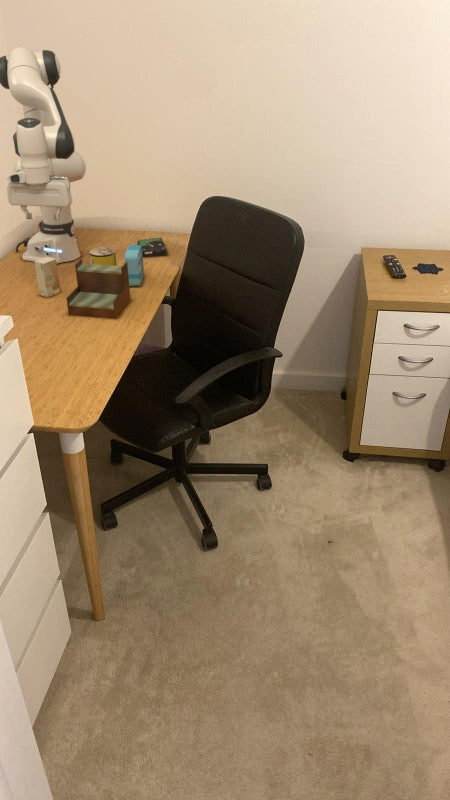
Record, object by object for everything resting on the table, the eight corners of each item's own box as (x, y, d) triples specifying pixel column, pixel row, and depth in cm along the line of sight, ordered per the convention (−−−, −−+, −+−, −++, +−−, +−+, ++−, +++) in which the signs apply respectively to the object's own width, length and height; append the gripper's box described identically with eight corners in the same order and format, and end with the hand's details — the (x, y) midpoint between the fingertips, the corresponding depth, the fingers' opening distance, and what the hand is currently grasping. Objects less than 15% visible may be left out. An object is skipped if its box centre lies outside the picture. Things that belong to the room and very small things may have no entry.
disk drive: (167, 256, 257) (161, 243, 269) (167, 249, 255) (161, 237, 268) (141, 258, 255) (137, 245, 267) (141, 251, 253) (136, 238, 266)
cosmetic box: (47, 298, 221) (42, 263, 215) (38, 295, 223) (33, 261, 217) (61, 291, 226) (56, 258, 219) (52, 289, 228) (47, 255, 221)
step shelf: (68, 315, 210) (63, 275, 203) (84, 296, 222) (80, 259, 215) (116, 318, 207) (112, 279, 200) (130, 300, 220) (127, 262, 213)
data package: (139, 288, 229) (137, 255, 223) (126, 287, 229) (124, 255, 223) (144, 275, 239) (141, 243, 233) (131, 275, 239) (129, 243, 233)
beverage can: (108, 277, 238) (105, 245, 231) (123, 283, 232) (120, 251, 226) (87, 283, 232) (84, 251, 226) (102, 290, 227) (99, 257, 220)
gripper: (72, 174, 204) (77, 217, 211) (10, 172, 206) (17, 215, 214) (65, 178, 199) (71, 223, 206) (1, 176, 201) (9, 221, 208)
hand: (43, 219), depth 210 cm, fingers open, 8 cm apart
